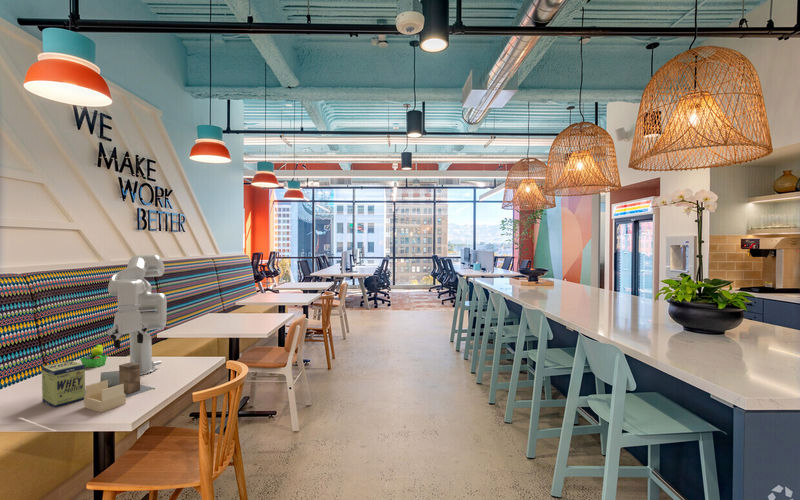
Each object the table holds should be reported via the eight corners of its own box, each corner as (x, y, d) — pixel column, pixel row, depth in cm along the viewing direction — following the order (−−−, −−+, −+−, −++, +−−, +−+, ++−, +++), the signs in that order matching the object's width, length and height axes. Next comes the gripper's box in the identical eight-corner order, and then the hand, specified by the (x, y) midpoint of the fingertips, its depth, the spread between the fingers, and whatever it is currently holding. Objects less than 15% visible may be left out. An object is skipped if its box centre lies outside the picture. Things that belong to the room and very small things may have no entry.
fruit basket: (78, 367, 218) (78, 347, 218) (93, 362, 227) (93, 343, 227) (96, 368, 216) (95, 347, 216) (110, 363, 225) (110, 344, 225)
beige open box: (109, 400, 168) (108, 379, 168) (125, 404, 163) (125, 383, 163) (84, 408, 160) (83, 386, 160) (100, 413, 154) (100, 390, 154)
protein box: (55, 409, 160) (54, 371, 160) (41, 401, 168) (40, 365, 168) (86, 400, 169) (85, 364, 169) (71, 393, 177) (71, 359, 177)
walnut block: (131, 387, 181) (130, 362, 181) (140, 390, 178) (139, 364, 178) (119, 391, 177) (119, 365, 177) (128, 393, 174) (127, 367, 174)
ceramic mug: (121, 387, 184) (121, 371, 184) (100, 391, 179) (99, 374, 180) (121, 381, 193) (121, 366, 193) (100, 385, 188) (100, 369, 188)
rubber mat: (137, 385, 187) (136, 383, 187) (154, 389, 181) (154, 388, 181) (104, 395, 174) (104, 393, 174) (122, 400, 168) (122, 398, 168)
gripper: (142, 304, 187) (143, 340, 187) (102, 310, 171) (103, 349, 172) (152, 305, 183) (153, 342, 184) (111, 311, 168) (112, 351, 168)
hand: (129, 345), depth 178 cm, fingers open, 9 cm apart
